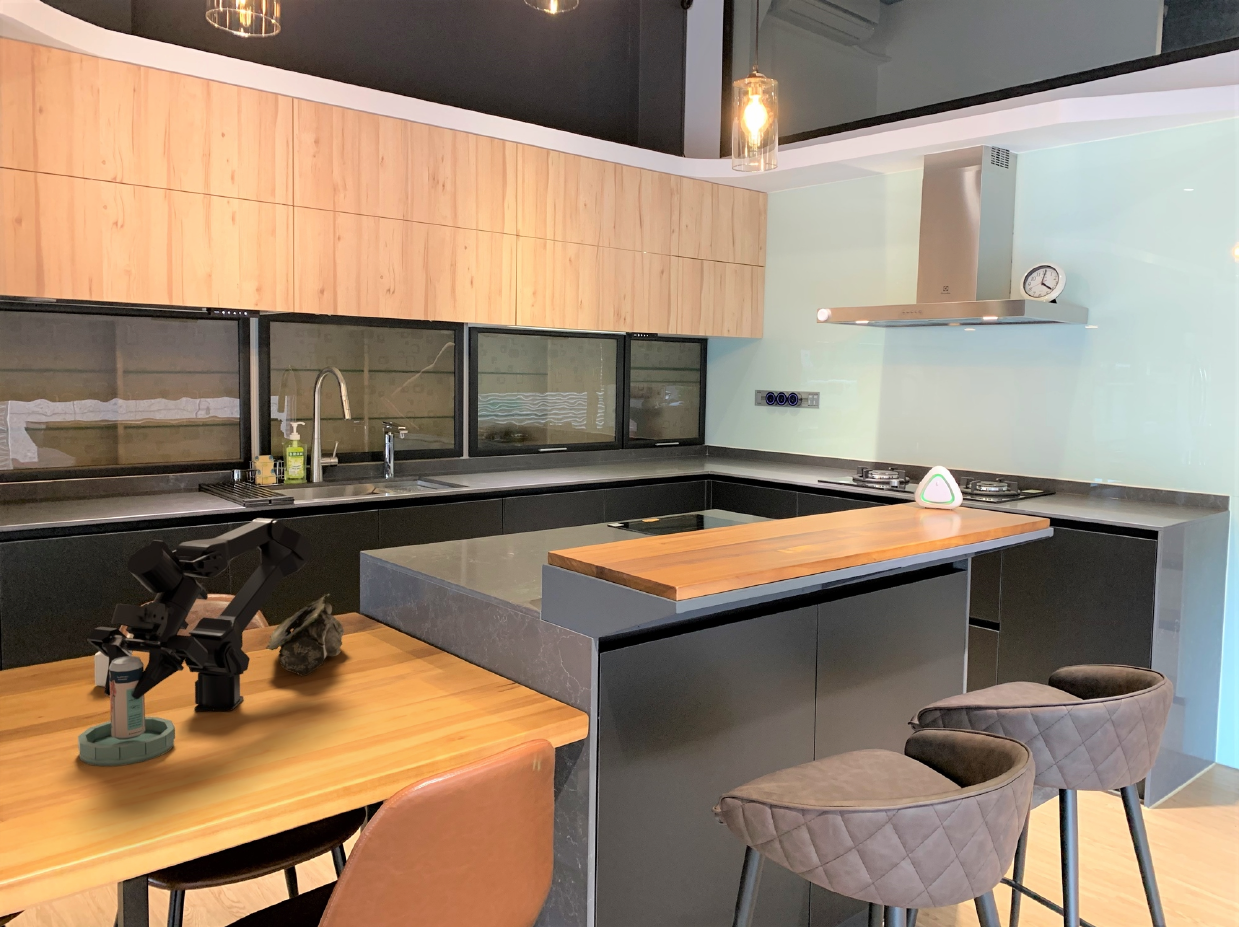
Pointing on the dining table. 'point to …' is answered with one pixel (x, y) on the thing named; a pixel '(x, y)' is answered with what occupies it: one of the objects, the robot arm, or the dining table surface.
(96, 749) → the bowl
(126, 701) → the beer can
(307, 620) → the driftwood piece
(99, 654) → the pepper shaker
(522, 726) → the dining table surface
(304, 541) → the robot arm
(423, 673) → the dining table surface
